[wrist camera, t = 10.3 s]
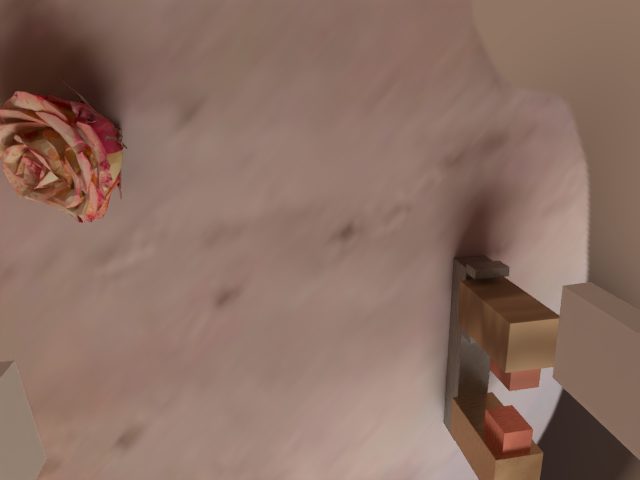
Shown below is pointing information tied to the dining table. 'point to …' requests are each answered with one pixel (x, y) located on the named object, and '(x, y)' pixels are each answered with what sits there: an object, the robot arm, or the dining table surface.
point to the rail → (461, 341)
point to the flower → (60, 153)
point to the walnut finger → (509, 329)
